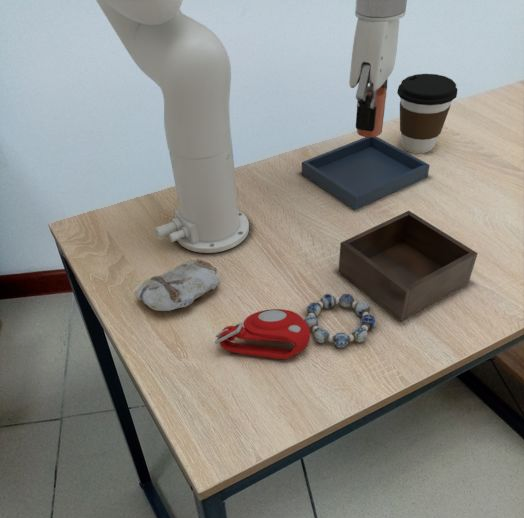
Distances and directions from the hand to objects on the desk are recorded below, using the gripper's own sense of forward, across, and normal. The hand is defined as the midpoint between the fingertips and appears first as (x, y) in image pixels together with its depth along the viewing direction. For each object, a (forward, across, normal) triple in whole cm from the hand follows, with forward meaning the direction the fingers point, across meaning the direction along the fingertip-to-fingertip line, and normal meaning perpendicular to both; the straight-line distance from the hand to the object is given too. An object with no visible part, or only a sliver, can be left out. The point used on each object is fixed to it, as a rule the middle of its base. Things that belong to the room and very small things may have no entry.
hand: (369, 121), depth 93 cm
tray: (+10, 0, 0) cm, 10 cm away
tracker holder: (+10, +46, +1) cm, 47 cm away
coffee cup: (+11, -15, +6) cm, 19 cm away
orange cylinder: (+2, 0, 0) cm, 2 cm away
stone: (+10, +43, -14) cm, 46 cm away
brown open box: (+10, +26, +15) cm, 32 cm away
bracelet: (+10, +39, +10) cm, 42 cm away
